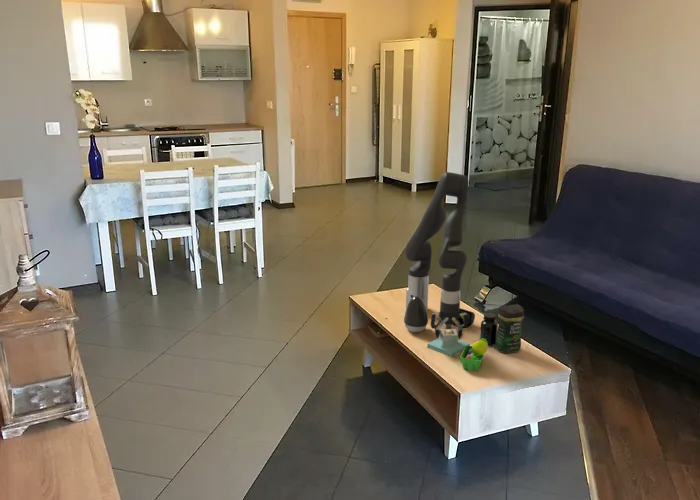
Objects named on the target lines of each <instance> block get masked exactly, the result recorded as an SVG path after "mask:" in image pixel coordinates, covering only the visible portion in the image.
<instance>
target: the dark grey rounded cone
mask: <svg viewBox="0 0 700 500" xmlns="http://www.w3.org/2000/svg"><path fill="white" fill-rule="evenodd" d="M410 296H411V300H410V301H409V303H408V306H407V308H406V307H405V308H406V309H405V313H404V317H403V323H404V325H405V327H406V329H407V330H408V331H410V332H411V333H421V332H423V331H424V330H425V329H426V328H427V326H428V324H429V317H428V309H427V310H426V307H425V304H424V301H423V300H422V298H420V297H418V296H415V297H414V296H413V295H410Z"/></svg>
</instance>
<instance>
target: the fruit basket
mask: <svg viewBox="0 0 700 500" xmlns="http://www.w3.org/2000/svg"><path fill="white" fill-rule="evenodd" d="M487 347H488V343H487V340H486V339H484V338H482V339H480V338H479V340H477V341H475V342H473V343H472V345H470V346H466V347H465V349H464V350H463V351H462V353H461V355H460V360H461V363H462V368H463V370H467V371H468V370H469V371H474V372H478V370H479V368H480V366H481V364H482V361H483V358H484V357H485V356H484V355H485V354H486V352H487V349H488V348H487Z"/></svg>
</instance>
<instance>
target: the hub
mask: <svg viewBox="0 0 700 500" xmlns="http://www.w3.org/2000/svg"><path fill="white" fill-rule="evenodd" d="M446 334H452V331H451V330H447V331H446ZM426 346H427V348H429V349H432V350H434V351H437V352H439V353H441V354H444V355H446V356H450V357H454V356H456V355H458V354H460V353H461V352H462V353H463V351H464V349H465V347H466V346H471V343H468V342H466V341H463V340H460V339H458V347H442V345H441V342H440V337H439V338H436V339H434V340H432V341H430V342H428V343H427V345H426Z"/></svg>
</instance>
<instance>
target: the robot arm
mask: <svg viewBox="0 0 700 500" xmlns="http://www.w3.org/2000/svg"><path fill="white" fill-rule="evenodd" d="M436 185H437V186H436V188H435V191H434V192H433V193H434V194H433V196H432V198H431V200H430V202H429V204H428V206H427V208H426V209H425V212H424V213H423V215H422V218H421V220H420V222H419V223H418V226H417V228H416V230H415V231H414V233H413V235H412V236H411V237H410V239H409V240H408V242H407V244H406V246H405V249H404V250H405V251H404V255H405V258H406V259H407V260H408V261H410V262H415V263H414V264H413V265H411V266H410V267H409V268H408V284H407V285H408V288H406V295H405V308H407V306H408V303H409V301H410V300H411V296H410V295H413V296H414V297H415V296H418V297H420V298H422V300H423V301H424V304H425V307H426V310H427V311H428V304H429V303H428V302H429V280H430V279H429V277H430V271H431V264H432V255H433V254H432V252H433V251H432V249H433V248H432V244H431V243H430V241H429V240H430V239H432V238H433V237H434V236H435V235H436V234H438V233H439V231H441V229H442V227H443V226H444V227H443V229H444V230H443V243H442V247H441V250H440V254H439V257H438V266H440V268H442V269H447V270H448V269H450V270H454V271H451V272H447V273H444V274H443V275H442V280H441V281H442V282H441V292H440V305H439V313H437V312H432V313H431V318H430V327H431V329H434V336H435V338H436V339H438V338H440V335H439V328H440V327H441V326H443V325H444V324H451V325H452V326H454V325H453V324H456V325H457V326H458V339H461V338H462V336H463V330H466V329H468V328H467V314H466V312H464V313H463V314H460V313H459V310H460V307H461V306H460V304H461V282H462V275H463V272H464V270H465V267H466V265H467V261H468V257H467V254H466V252H465V251H464V250H450V249H451V248H454V247H459V246H461V245H462V243H463V229H464V227H463V225H464V223H463V222H464V216H465V211H466V205H467V199H468V192H469V179H468V177H467V176H466V175H465V174H462V173H461V174H460V173H457V172H456V173H455V172H451V171H450V172H448V171H446V172H444V173H442V175H441V176H440V178H439V180H438V183H437V184H436ZM445 196H449V197H455V198H456V199H457V200H456V204H455V207H454V208H453V210H452V211H451V212H450V214H449V216H448V217H447V213H446V212H447V211H446V208H445V206H444V198H445ZM438 317H439V320H438V321H437V323H436V320H437V319H438ZM460 317H462V319H463V325H461V324H460V323H459V321H458V319H459V318H460ZM457 326H456V327H457ZM464 328H465V329H464Z"/></svg>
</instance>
